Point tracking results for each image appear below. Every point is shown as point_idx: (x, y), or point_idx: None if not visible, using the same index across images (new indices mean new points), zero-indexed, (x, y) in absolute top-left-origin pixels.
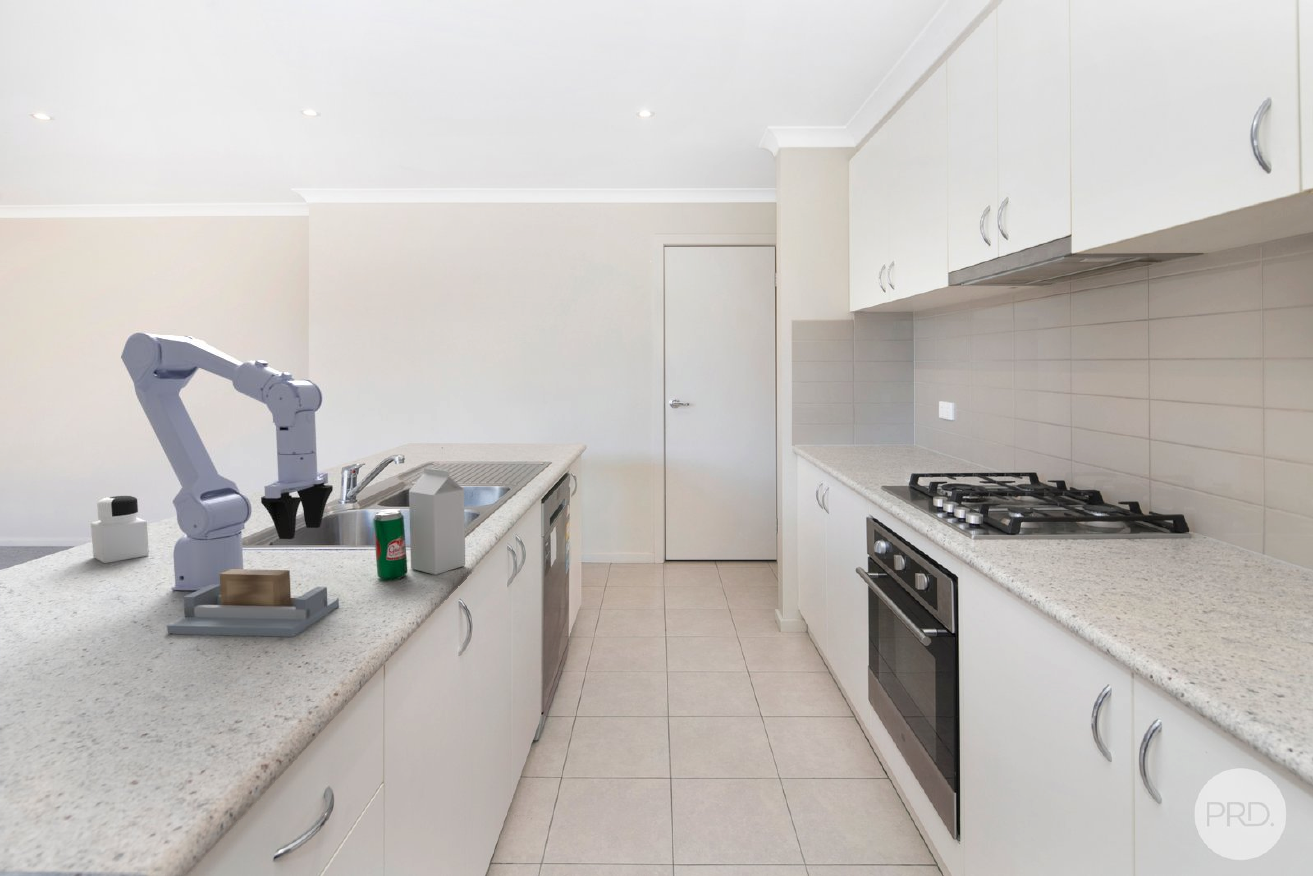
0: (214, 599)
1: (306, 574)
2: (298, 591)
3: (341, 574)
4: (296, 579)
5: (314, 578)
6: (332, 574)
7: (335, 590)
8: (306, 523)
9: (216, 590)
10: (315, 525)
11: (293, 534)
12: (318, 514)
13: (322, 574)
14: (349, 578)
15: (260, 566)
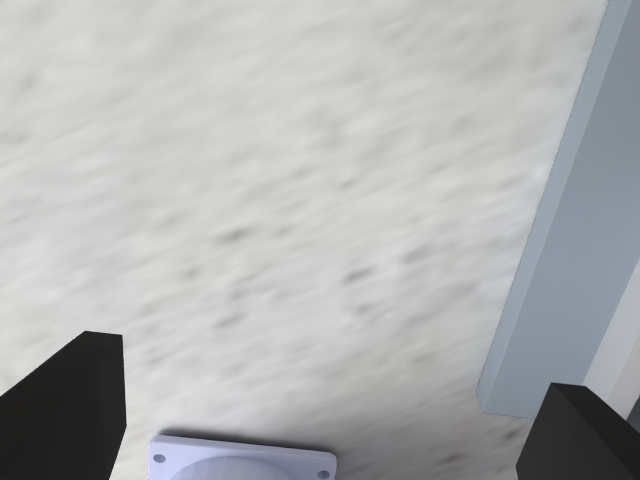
0: (634, 421)
1: (81, 268)
2: (348, 197)
3: (53, 90)
4: (163, 279)
5: (140, 206)
6: (61, 141)
7: (348, 4)
8: (112, 461)
9: None
10: (114, 374)
11: (597, 405)
12: (49, 447)
13: (70, 194)
14: (121, 8)
15: None
